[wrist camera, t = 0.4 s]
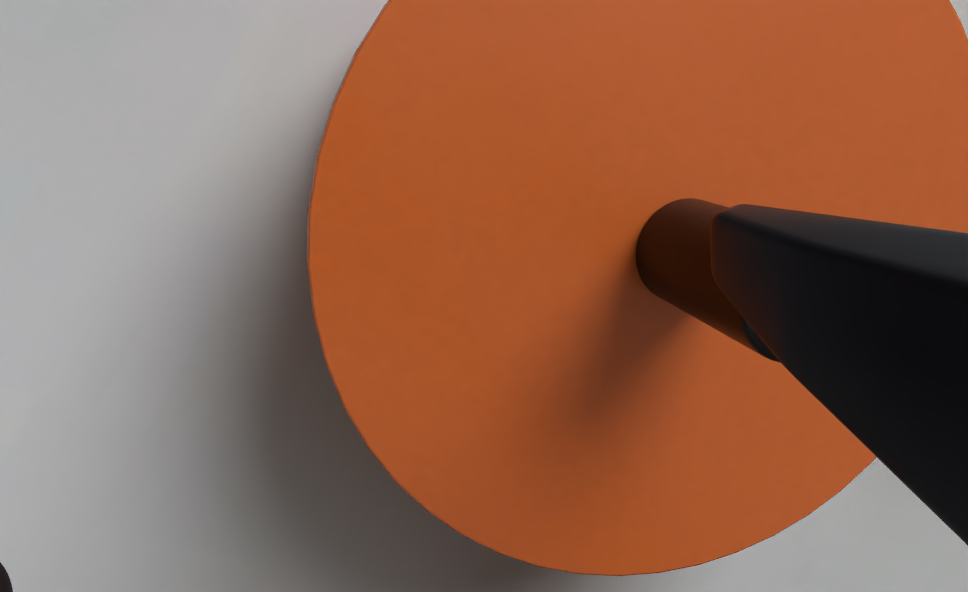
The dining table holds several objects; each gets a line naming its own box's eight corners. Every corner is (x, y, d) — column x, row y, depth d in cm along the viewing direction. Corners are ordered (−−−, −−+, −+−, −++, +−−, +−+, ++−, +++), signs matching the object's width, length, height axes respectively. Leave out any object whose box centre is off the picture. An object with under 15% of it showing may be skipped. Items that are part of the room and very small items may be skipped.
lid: (1053, -5, 20) (1323, -36, 15) (826, 582, 23) (984, 728, 18) (412, -276, 15) (479, -462, 10) (234, 510, 19) (214, 679, 13)
